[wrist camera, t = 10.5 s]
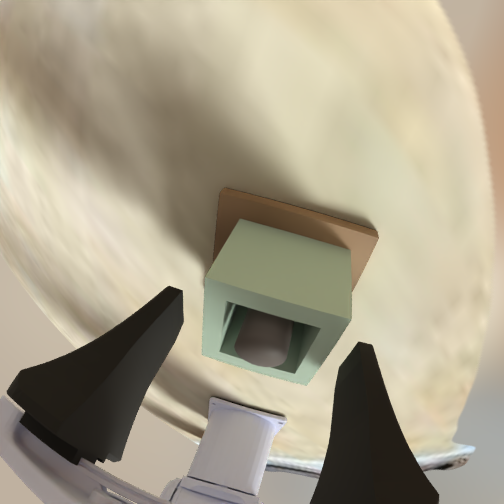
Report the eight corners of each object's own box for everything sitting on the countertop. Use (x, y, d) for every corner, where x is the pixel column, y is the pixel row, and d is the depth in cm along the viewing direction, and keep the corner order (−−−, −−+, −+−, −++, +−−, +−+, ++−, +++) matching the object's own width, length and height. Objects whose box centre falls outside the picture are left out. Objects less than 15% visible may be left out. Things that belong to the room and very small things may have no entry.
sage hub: (316, 322, 15) (306, 385, 12) (228, 296, 16) (201, 354, 12) (350, 249, 12) (351, 319, 9) (240, 218, 12) (204, 277, 9)
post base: (327, 329, 16) (317, 407, 12) (213, 296, 17) (178, 365, 13) (377, 230, 12) (391, 318, 8) (224, 187, 12) (169, 253, 8)
